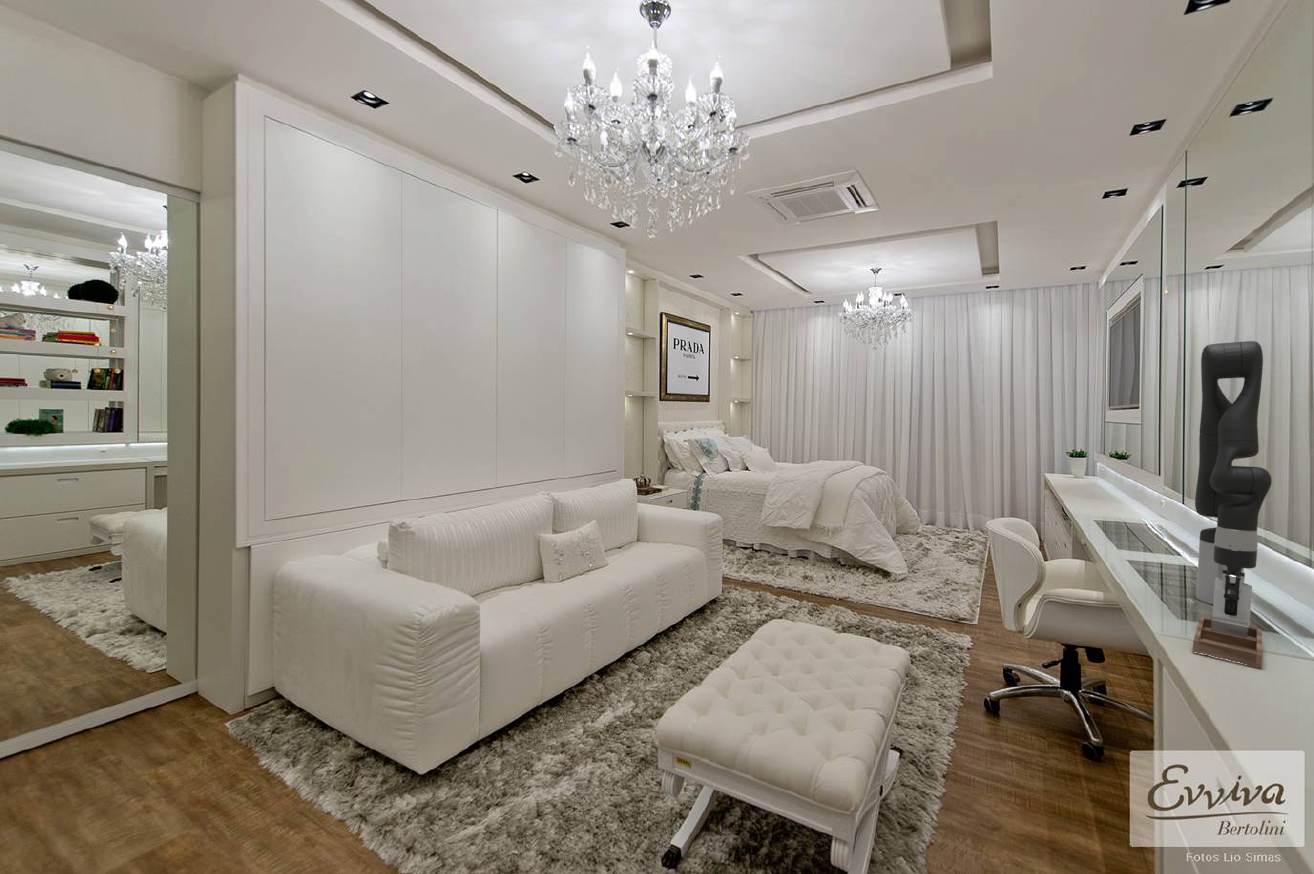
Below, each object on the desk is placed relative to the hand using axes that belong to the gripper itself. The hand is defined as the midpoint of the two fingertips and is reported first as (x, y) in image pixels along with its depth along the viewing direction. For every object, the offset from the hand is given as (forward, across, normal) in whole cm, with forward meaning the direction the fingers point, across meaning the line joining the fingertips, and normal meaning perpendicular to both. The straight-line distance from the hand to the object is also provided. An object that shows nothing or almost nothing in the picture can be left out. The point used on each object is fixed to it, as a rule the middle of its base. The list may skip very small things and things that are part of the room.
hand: (1230, 610), depth 143 cm
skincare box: (+5, 0, 0) cm, 5 cm away
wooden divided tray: (+4, +16, 0) cm, 17 cm away
